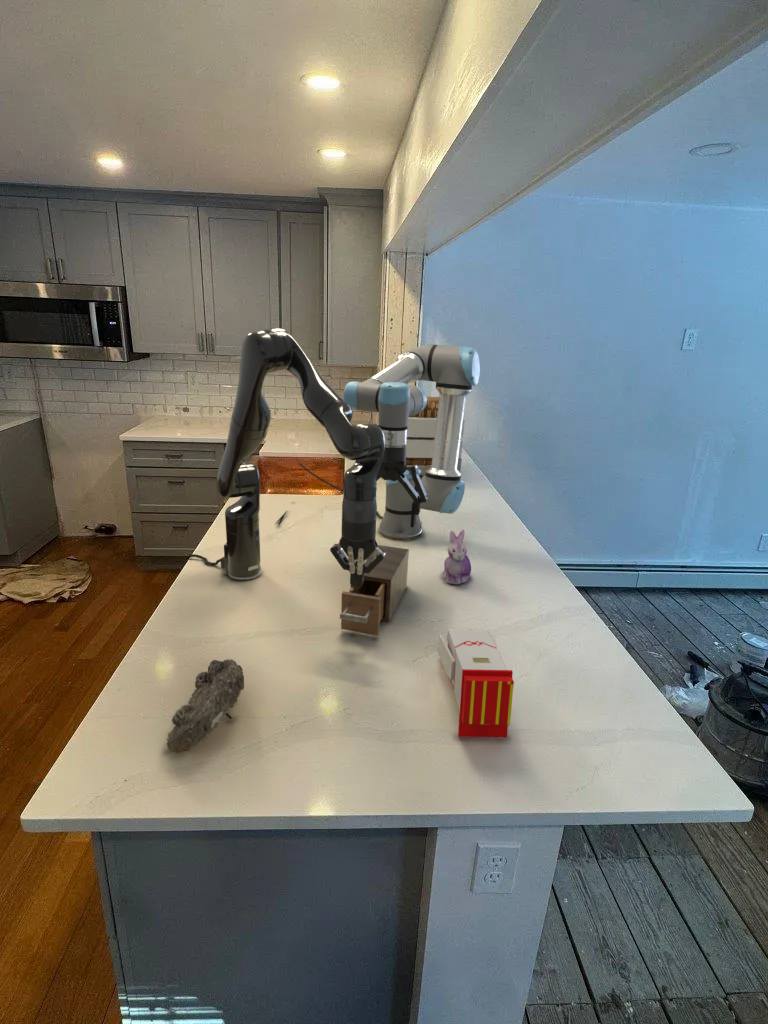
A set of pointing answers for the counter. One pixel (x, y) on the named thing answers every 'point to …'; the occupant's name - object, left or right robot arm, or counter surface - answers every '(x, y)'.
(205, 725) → the fossil
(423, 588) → the counter surface
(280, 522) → the feather
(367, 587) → the drawer
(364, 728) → the counter surface
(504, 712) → the toy
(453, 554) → the figurine
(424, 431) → the white tiered storage organizer
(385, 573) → the cabinet
